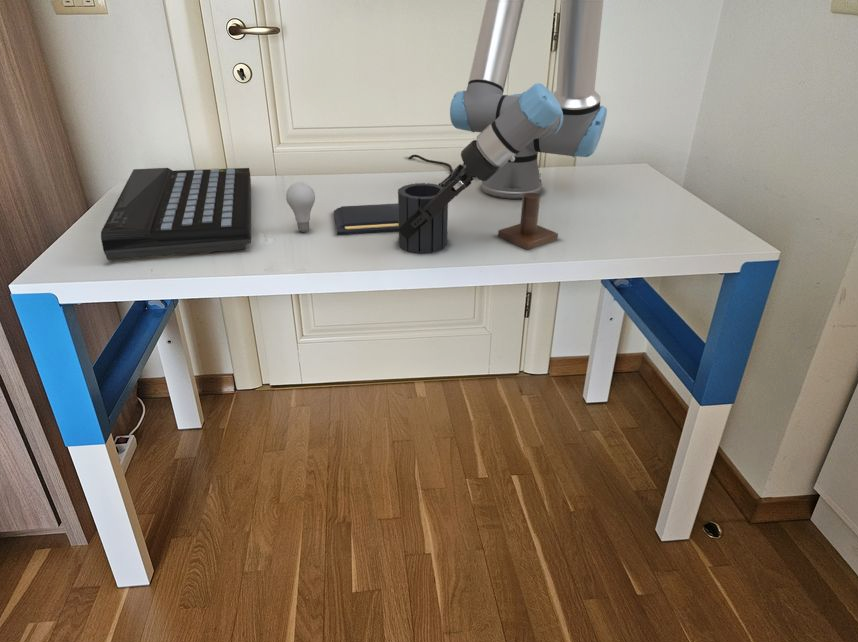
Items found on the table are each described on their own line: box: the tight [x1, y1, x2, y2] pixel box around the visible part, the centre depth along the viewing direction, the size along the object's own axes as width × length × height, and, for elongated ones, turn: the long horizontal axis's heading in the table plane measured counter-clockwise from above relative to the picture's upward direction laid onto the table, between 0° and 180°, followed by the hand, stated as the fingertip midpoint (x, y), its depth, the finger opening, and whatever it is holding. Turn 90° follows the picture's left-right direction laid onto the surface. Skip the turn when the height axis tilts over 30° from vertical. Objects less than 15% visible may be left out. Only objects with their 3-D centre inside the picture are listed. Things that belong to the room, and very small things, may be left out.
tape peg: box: [497, 193, 559, 250], centre depth 138 cm, size 9×9×10 cm
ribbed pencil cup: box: [397, 182, 449, 254], centre depth 135 cm, size 10×10×12 cm
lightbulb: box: [285, 181, 316, 233], centre depth 141 cm, size 6×6×11 cm
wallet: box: [333, 202, 399, 236], centre depth 149 cm, size 20×2×15 cm
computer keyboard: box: [100, 167, 252, 261], centre depth 148 cm, size 45×28×7 cm, turn 12°
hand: (409, 224), depth 136 cm, fingers closed on ribbed pencil cup, 10 cm apart
